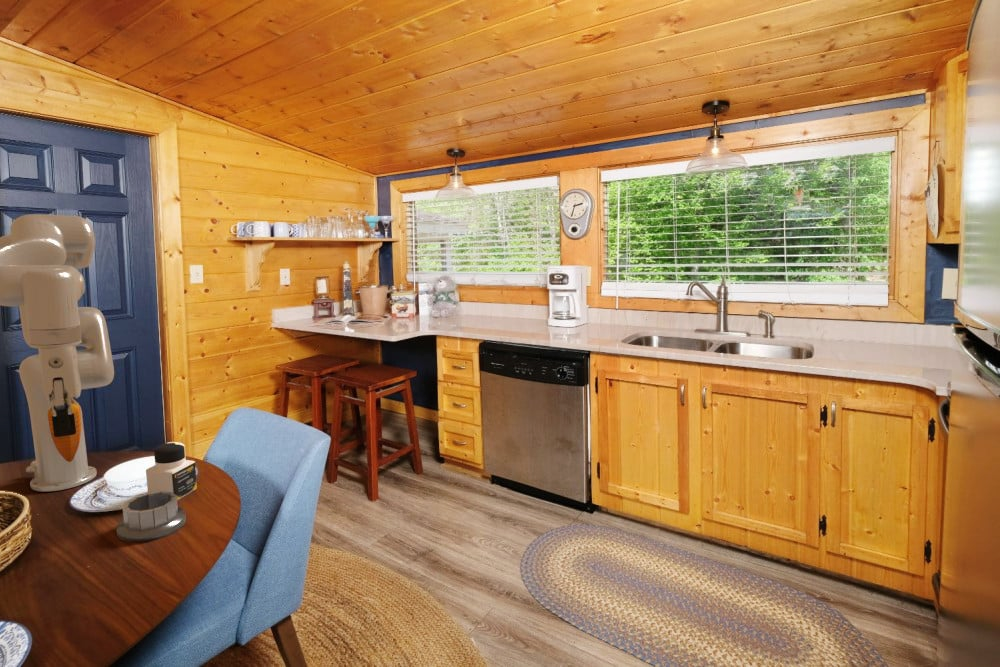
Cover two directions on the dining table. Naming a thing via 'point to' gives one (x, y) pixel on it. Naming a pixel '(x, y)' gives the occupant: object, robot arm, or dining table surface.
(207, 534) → the dining table surface
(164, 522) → the duct collar
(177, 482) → the medicine bottle
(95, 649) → the dining table surface
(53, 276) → the robot arm
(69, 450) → the carrot
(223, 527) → the dining table surface
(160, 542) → the dining table surface
